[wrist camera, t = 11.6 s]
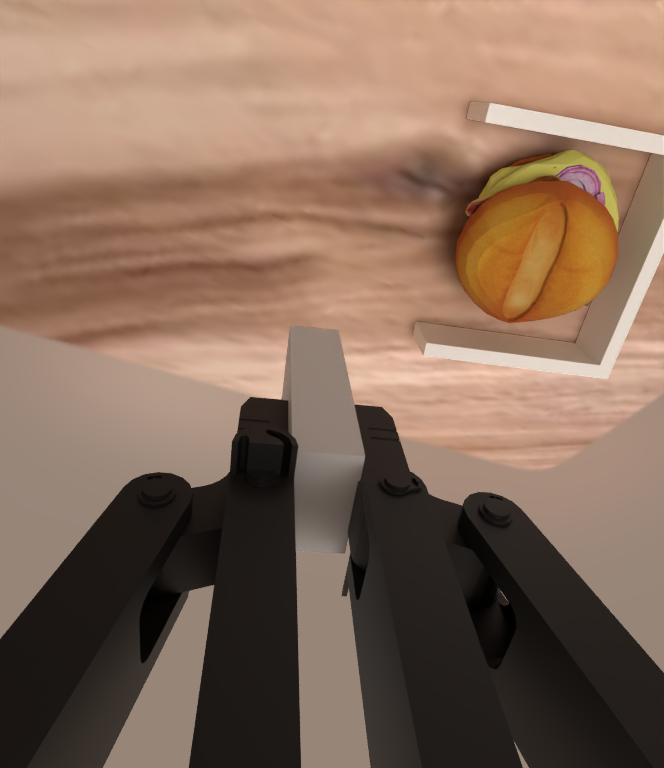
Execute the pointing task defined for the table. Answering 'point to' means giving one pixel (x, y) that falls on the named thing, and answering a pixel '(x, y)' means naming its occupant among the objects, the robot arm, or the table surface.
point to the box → (617, 299)
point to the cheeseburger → (540, 238)
